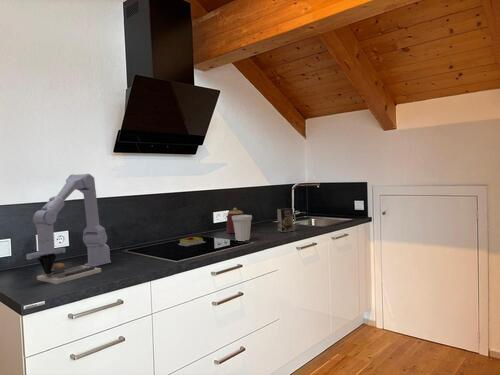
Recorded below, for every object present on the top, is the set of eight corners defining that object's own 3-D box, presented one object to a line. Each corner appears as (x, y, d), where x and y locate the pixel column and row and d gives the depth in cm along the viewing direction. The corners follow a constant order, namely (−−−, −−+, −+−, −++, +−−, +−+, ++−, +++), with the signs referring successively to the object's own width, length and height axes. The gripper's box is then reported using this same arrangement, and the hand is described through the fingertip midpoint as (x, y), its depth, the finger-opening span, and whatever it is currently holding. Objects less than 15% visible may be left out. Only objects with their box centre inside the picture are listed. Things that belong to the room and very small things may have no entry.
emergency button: (176, 238, 219) (197, 234, 230) (177, 245, 219) (197, 241, 230) (186, 239, 212) (206, 235, 223) (186, 247, 213) (206, 242, 223)
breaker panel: (82, 268, 167) (81, 261, 167) (101, 271, 159) (100, 264, 159) (37, 279, 150) (36, 272, 150) (56, 284, 142) (55, 276, 142)
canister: (248, 231, 260) (247, 206, 260) (240, 234, 248) (239, 208, 248) (231, 231, 265) (231, 206, 265) (223, 233, 254) (222, 208, 253)
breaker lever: (60, 272, 153) (59, 262, 153) (64, 273, 151) (64, 263, 151) (54, 274, 150) (53, 264, 150) (58, 275, 149) (58, 265, 149)
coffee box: (282, 233, 247) (281, 209, 246) (277, 232, 252) (276, 208, 252) (293, 231, 250) (293, 208, 250) (289, 230, 256) (288, 207, 256)
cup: (255, 241, 218) (254, 216, 218) (234, 243, 215) (233, 217, 215) (250, 238, 230) (249, 214, 230) (230, 240, 227) (229, 215, 227)
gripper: (32, 243, 138) (34, 279, 138) (68, 237, 150) (70, 270, 151) (22, 242, 142) (24, 277, 142) (59, 236, 154) (60, 268, 154)
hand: (47, 273), depth 147 cm, fingers closed
